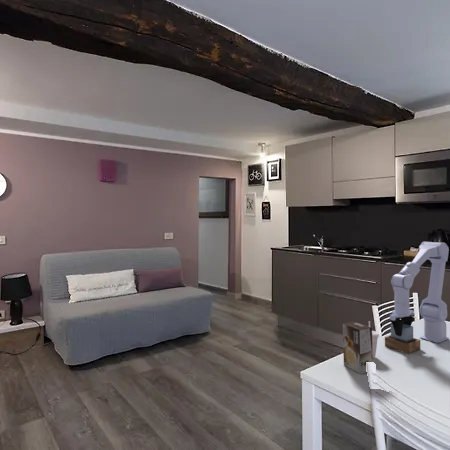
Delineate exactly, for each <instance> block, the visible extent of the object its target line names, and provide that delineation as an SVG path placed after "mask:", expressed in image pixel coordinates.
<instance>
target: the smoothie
mask: <svg viewBox="0 0 450 450" xmlns="http://www.w3.org/2000/svg"><path fill="white" fill-rule="evenodd" d="M368 326H369V327H371V321H370V320H369V321H368ZM379 335H380V334H379V332H377V331H376V330H372V352H373V359H375V358H376V357H377V356H376V355H377V347H378V346H377V345H378V338H379V337H380V336H379Z"/></svg>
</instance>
